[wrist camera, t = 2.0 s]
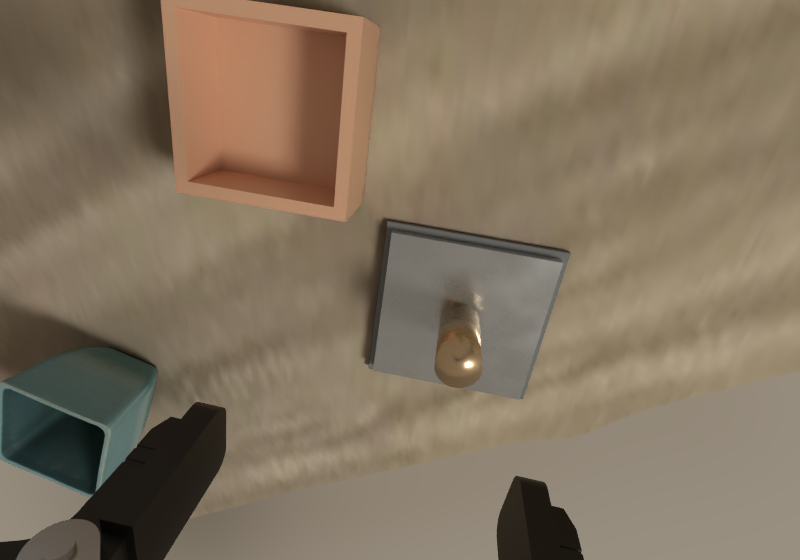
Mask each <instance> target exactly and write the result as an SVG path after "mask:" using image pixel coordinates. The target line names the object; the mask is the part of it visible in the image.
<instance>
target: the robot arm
mask: <svg viewBox="0 0 800 560" xmlns="http://www.w3.org/2000/svg"><path fill="white" fill-rule="evenodd" d="M225 451H226V410H225V408H223V407H218V406H214V405H209V404H205V403H201V402H196V403H195V404H193V405H192V407H191V408H190V409H189V410H188V411H187V413H186V414H185V415H184V416H183V417H182V419H178V418H174V417H170V418H169V419H167V420H165V421H164V422H162V423H160V424H159V425H157V426H156V427H154V428H152V429H151V430H150V431H149V432H148V433H147V435H146V436H145V437H144V438H143V439H142V440H141V441H140V443H139V444H138V445H137V448H134V449H133V450H132V452H131V453H130V454H129V455H128V456H127V457H126V459H125V461H124V462H122V463H121V464H120V465H119V466H118V467H117V468H116V470H115V471H114V472H113V473H112V474H111V475H110V476H109V478H108V479H107V480H106V481H105V482H104V483H103V484H102V485H101V487H100V488H99V489H98V490H97V491H96V492H95V493H94V494H93V496H92V497H91V498H90V499H89V500H88V501H87V502H86V503H85V505H84V506H83V507H82V508H81V509H80V510H79V512H78V513H76V515H74V516H73V517H72V518H71V519H70V520H65V521H62V522H59V523H56V524H53V525H51V526H49V527H47V528H45V529H44V530H42V531H40V532H39V533H38V534H36V535H35V536H34V537H32V539H27V540H20V541H8V542H0V560H164V558H165V556H166V555H167V553H168V552H169V550H170V548H171V547H172V545H173V544H174V542H175V540H176V539H177V537H178V535H179V534H180V532H181V530H182V529H183V527H184V526H185V524H186V523H187V521H188V519H189V518H190V516H191V515H192V513H193V511H194V510H195V508H196V506H197V505H198V503H199V502H200V500H201V498H202V497H203V495H204V494H205V492H206V490H207V489H208V487H209V485H210V484H211V482H212V481H213V479H214V477H215V476H216V474H217V473H218V471H219V469H220V467H221V465H222V462H223V459H224V456H225ZM497 545H498V559H499V560H584V558H583V555H582V554H581V551H582V550H581V547H580V542H579V538H578V534H577V530H576V528H575V527H574V525H573V523H572V522H571V520H570V519H569V517H568V515H567V514H566V512H565V510H564V509H562V508H559V507H554V506H551V503H550V498H549V493H548V489H547V486H546V484H545V483H544V482H541V481H537V480H533V479H528V478H524V477H519V476H516V477H515V478H514V479H513V482H512V484H511V486H510V489H509V492H508V494H507V497H506V499H505V501H504V504H503V506H502V509H501V511H500V515H499V518H498V525H497Z"/></svg>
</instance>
